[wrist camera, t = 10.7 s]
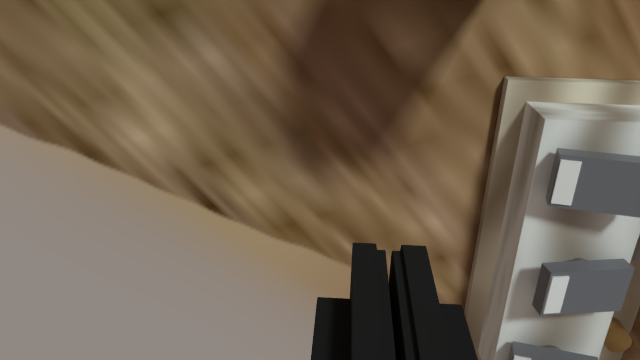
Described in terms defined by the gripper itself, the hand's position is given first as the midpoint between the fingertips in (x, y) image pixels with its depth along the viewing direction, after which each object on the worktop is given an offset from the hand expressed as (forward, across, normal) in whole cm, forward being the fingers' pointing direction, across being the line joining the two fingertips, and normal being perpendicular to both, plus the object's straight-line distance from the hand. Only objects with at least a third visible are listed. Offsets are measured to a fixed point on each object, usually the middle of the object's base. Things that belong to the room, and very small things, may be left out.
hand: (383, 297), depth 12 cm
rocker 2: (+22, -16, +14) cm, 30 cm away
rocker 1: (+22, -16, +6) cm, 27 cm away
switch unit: (+27, -17, +14) cm, 35 cm away
